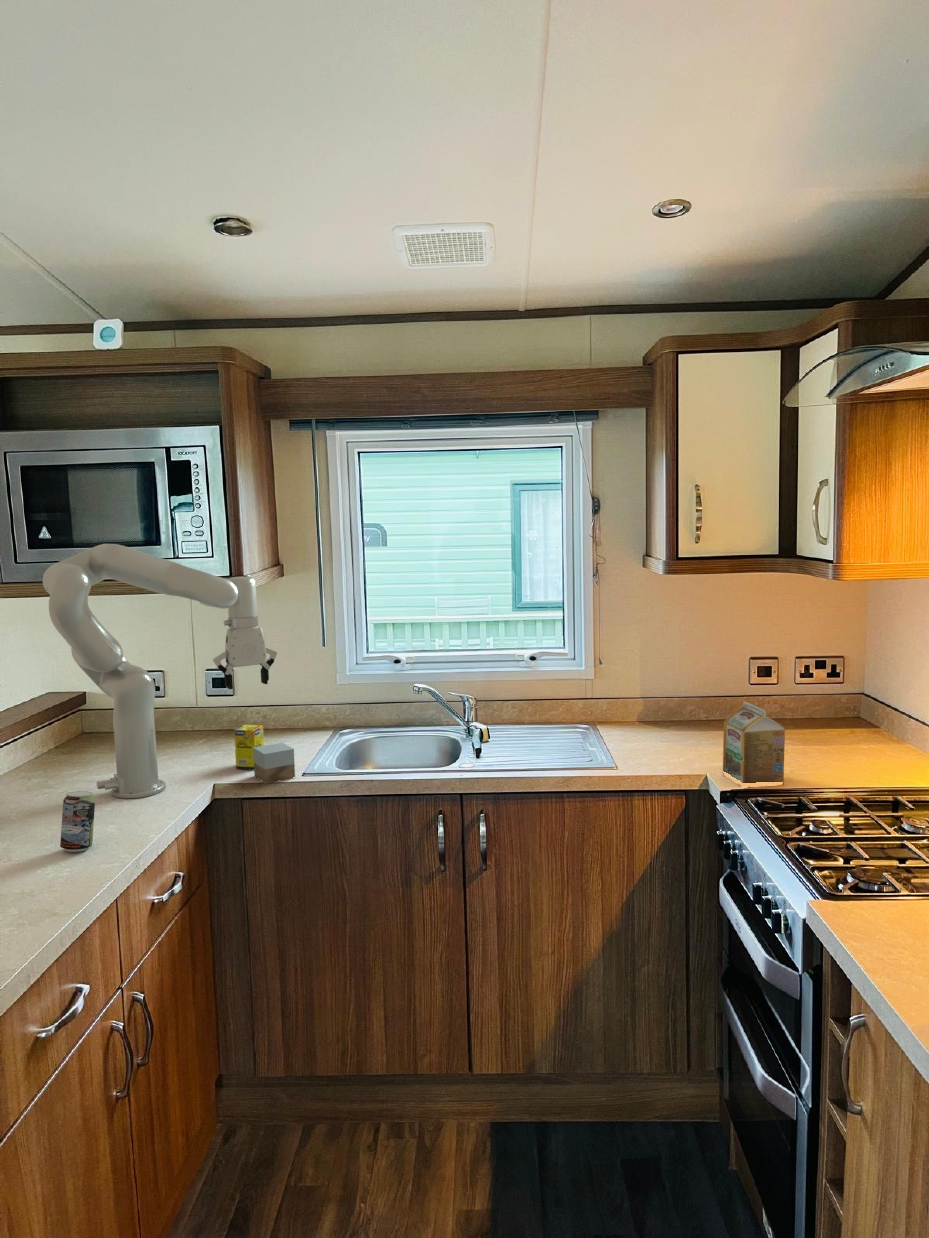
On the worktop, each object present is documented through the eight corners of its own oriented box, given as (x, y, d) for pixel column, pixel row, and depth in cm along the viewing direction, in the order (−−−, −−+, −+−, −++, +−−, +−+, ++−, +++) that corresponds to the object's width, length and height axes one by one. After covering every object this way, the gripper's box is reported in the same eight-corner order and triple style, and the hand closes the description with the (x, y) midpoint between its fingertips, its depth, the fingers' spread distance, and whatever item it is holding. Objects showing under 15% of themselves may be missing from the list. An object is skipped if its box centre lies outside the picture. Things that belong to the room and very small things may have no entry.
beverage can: (54, 853, 173) (49, 797, 171) (81, 840, 180) (77, 785, 178) (77, 857, 171) (73, 800, 169) (105, 844, 177) (100, 788, 176)
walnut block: (265, 784, 216) (264, 769, 215) (254, 776, 222) (253, 762, 222) (295, 778, 220) (294, 763, 220) (283, 771, 227) (282, 756, 226)
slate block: (264, 769, 215) (264, 754, 215) (253, 762, 222) (253, 747, 221) (294, 763, 220) (293, 748, 219) (282, 757, 226) (282, 742, 226)
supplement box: (256, 770, 227) (254, 730, 226) (235, 769, 229) (233, 729, 227) (265, 763, 233) (263, 725, 232) (245, 762, 234) (243, 724, 233)
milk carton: (783, 785, 206) (785, 709, 204) (743, 788, 205) (744, 711, 202) (761, 772, 217) (763, 700, 214) (722, 775, 215) (724, 702, 213)
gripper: (215, 627, 218) (220, 692, 220) (279, 621, 228) (283, 683, 230) (207, 624, 224) (211, 688, 227) (269, 618, 234) (272, 679, 236)
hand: (247, 685), depth 228 cm, fingers open, 9 cm apart
